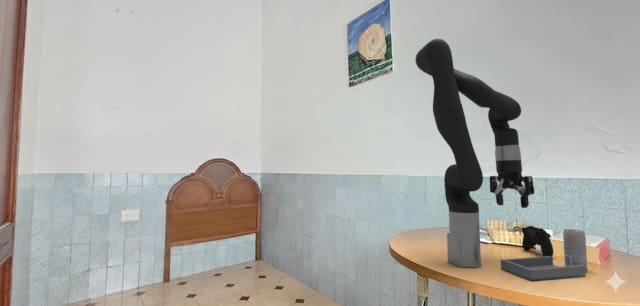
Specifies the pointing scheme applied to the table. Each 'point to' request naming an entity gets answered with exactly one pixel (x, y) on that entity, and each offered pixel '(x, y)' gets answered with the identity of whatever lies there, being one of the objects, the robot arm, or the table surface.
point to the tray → (540, 268)
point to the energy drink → (575, 248)
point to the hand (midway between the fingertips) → (512, 206)
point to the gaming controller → (537, 240)
